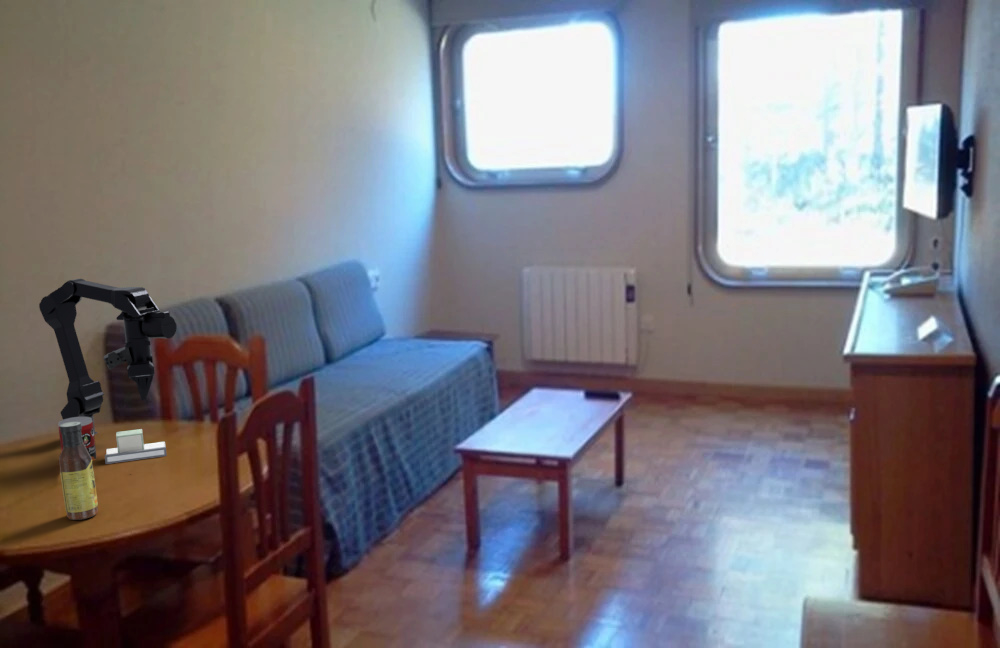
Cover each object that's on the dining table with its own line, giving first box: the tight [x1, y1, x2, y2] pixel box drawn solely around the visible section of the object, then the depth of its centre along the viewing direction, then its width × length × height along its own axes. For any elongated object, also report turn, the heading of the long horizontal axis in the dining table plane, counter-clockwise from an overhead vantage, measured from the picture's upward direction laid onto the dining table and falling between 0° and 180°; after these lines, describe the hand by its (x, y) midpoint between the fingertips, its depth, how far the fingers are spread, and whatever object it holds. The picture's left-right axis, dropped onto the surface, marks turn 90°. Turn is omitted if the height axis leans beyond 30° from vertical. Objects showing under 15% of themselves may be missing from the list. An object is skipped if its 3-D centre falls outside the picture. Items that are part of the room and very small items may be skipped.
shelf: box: [104, 441, 168, 465], centre depth 234 cm, size 13×14×3 cm
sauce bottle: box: [58, 422, 99, 521], centre depth 193 cm, size 7×6×20 cm
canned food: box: [57, 417, 97, 462], centre depth 229 cm, size 8×8×11 cm
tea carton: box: [115, 428, 145, 453], centre depth 231 cm, size 4×6×6 cm
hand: (143, 396), depth 242 cm, fingers open, 9 cm apart
